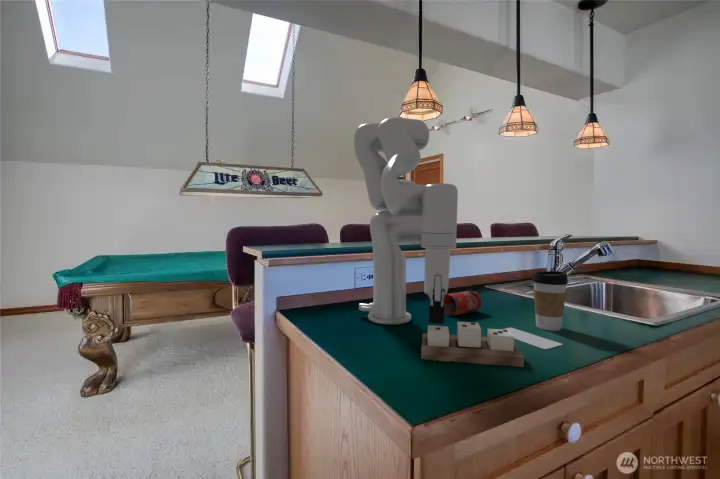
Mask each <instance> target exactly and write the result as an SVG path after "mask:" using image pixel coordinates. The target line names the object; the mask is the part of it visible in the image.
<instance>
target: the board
mask: <svg viewBox="0 0 720 479" xmlns="http://www.w3.org/2000/svg"><path fill="white" fill-rule="evenodd" d="M421 339H422V340H421V350H420V351H421V352H420V357H421V360H423V359H424V360H426V361H437V360H438V361H439V362H450V361H454V362H453V363H463V362H465V363H466V362H467V363H466V364H480V365H492V366H504V367H505V366H506V367H516V368H517V367H518V368H519V367H521V368H524V367H525V365H524V364H525V363H524V362H525V356H524V355H523V353H522V352H521V351H520V349H519V348H518V346H517V345H516V343H515V342H514V349H513V351H501V350H489V349H488V346H487V336H481V348H480V347H465V346H458V341H457V334H449V347H441V346H428V332H425V333H424V332H422V336H421Z"/></svg>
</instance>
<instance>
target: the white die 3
mask: <svg viewBox="0 0 720 479" xmlns="http://www.w3.org/2000/svg"><path fill="white" fill-rule="evenodd" d="M502 329H503V328H499V329H498V328H487V336H486V337H487V346H488V349H489V350H501V351H513V349H514V343H515V339H514V336H513V335H512V333H511V332H510V330H505V329H503V330H502Z"/></svg>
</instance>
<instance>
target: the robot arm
mask: <svg viewBox="0 0 720 479" xmlns="http://www.w3.org/2000/svg"><path fill="white" fill-rule="evenodd" d="M353 137H354V138H353V145H354V147H353V148H354V152H355V156H356V159H357V161H358V163H359V165H360V168H361V170H362V172H363V175H364V180H365V186H366V191H367V196H368V199H369V202H370V206H371V207H372V209H374V210H375V211H378V212H376V213H374V214H373V215H372V216H371V218H370V222H369V233H370V238H371V243H372V258H373V259H372V263H373V264H372V266H373V267H372V268H373V272H372V273H373V274H372V275H373V276H372V277H373V280H372V281H373V282H372V284H373V286H372V287H373V288H372V290H373V292H372V294H373V297H372V298H373V299H372V300H373V301H372V302H370V303H363V302H361V303H359V304H358V310H359V311H361V312H369V313H368V314H367V319H368V320H369V322H370V321H371V322H373V323H376V324H381V325H401V324H405V323H408V322H410V321H411V320H412V315H411V313H410V312H407V306H406V305H407V259H406V255H405V254H404V252H403V250H402V249H401V248H400V246H399V244H417V243H420V247H421V248H423V249H425V253H424V254H425V255H424V276H423V277H424V278H423V279H424V283H423V286H424V288H423V292H424V294H425V295H428V294H427V293H430V292H431V299H430V303H429V307H428V308H429V309H428V310H429V312H428V313H429V314H428V323H430V324H436V325H437V324H439V325H443V324H444V322H445V313H444V304H443V301H444V295H446V294H448V290H449V282H450V281H449V280H450V267H451V266H450V265H451V250H453V249H456V248H457V231H458V230H457V229H458V228H457V227H458V223H457V222H458V203H459V202H458V196H459V195H458V193H459V191H458V187H457V186H456V185H455V184H453V183H429V184H418V183H416V182H414V181H413V180H409V179H398V178H400V177H403V176H404V175H406V174H409V173H411V172H412V171H415V169H416V168H417V167H418V166H419V164H420V161H421V157H422V156H421V152H420V151H422V150H424V149H425V148H426V147H427V145H428V143H429V141H430V140H429V139H430V131H429V127H428V125H427V124H426V123H425V122H424V121H423V120H420V119H417V118H407V117H399V116H398V117H396V116H395V117H393V116H391V117H388V118H387V117H386V118H385V119H384V120H382V121H381V122H380V123H379V122H369V123H368V122H367V123H363V124H360V125H359V126H358V127H357V128H356V129H355V132H354V135H353ZM379 153H383V154H384V156H385V158H386V159H385V158H384V156H382V155H381V154H379Z"/></svg>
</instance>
